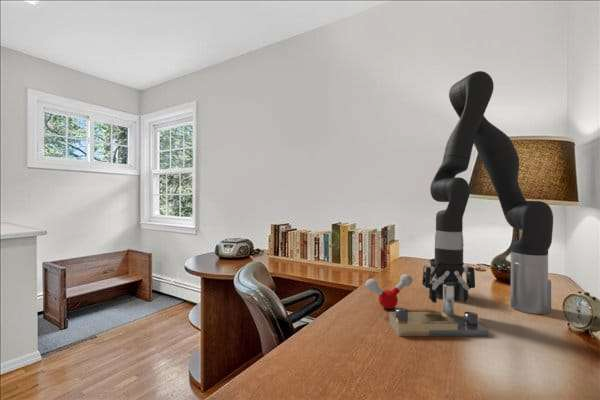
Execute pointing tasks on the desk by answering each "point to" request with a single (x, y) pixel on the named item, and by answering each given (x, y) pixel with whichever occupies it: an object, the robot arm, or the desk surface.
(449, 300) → the pin
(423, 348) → the desk surface
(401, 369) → the desk surface
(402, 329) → the two-tone base plate
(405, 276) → the molecular model
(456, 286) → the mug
